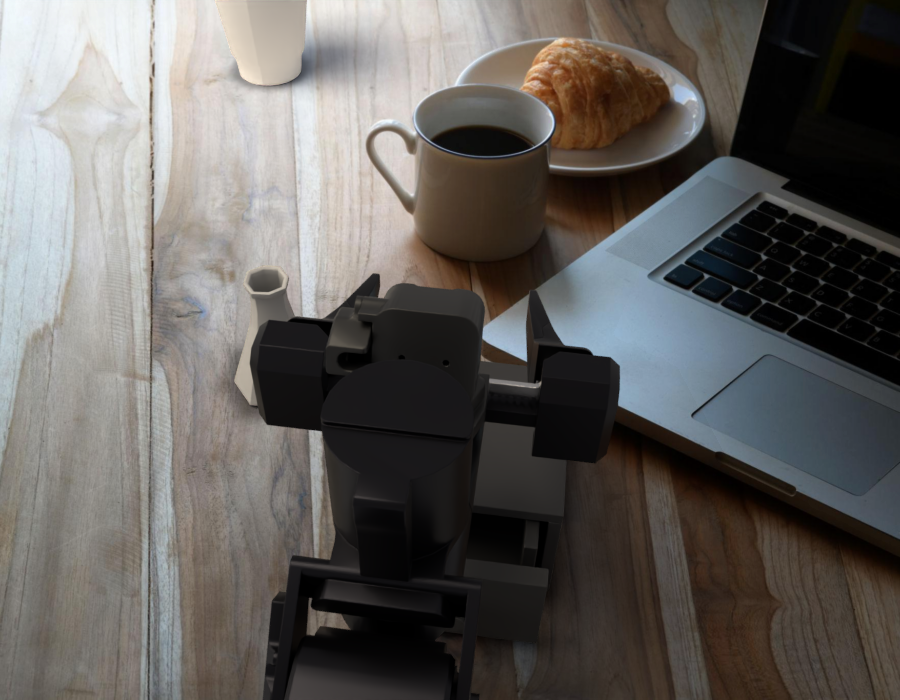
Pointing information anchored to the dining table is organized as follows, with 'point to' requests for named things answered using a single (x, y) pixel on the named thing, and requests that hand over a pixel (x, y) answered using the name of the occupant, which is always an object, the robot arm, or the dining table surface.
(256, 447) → the dining table surface
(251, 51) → the cup
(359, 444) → the robot arm
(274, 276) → the flask
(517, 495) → the box
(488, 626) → the drawer
